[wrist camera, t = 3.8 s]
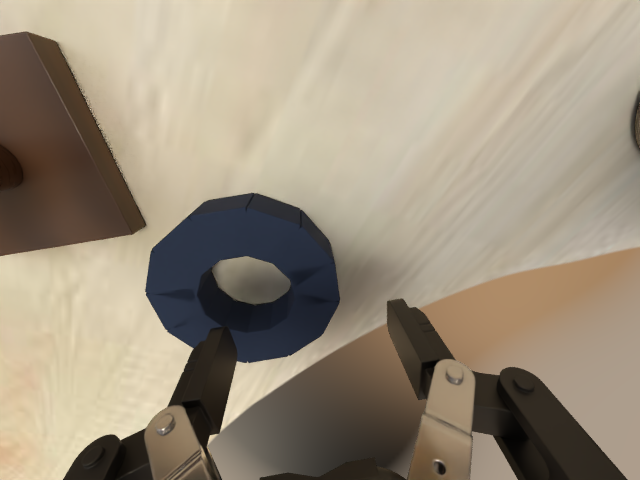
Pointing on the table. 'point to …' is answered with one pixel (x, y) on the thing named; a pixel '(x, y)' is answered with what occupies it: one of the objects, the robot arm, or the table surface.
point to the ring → (237, 241)
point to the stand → (53, 156)
